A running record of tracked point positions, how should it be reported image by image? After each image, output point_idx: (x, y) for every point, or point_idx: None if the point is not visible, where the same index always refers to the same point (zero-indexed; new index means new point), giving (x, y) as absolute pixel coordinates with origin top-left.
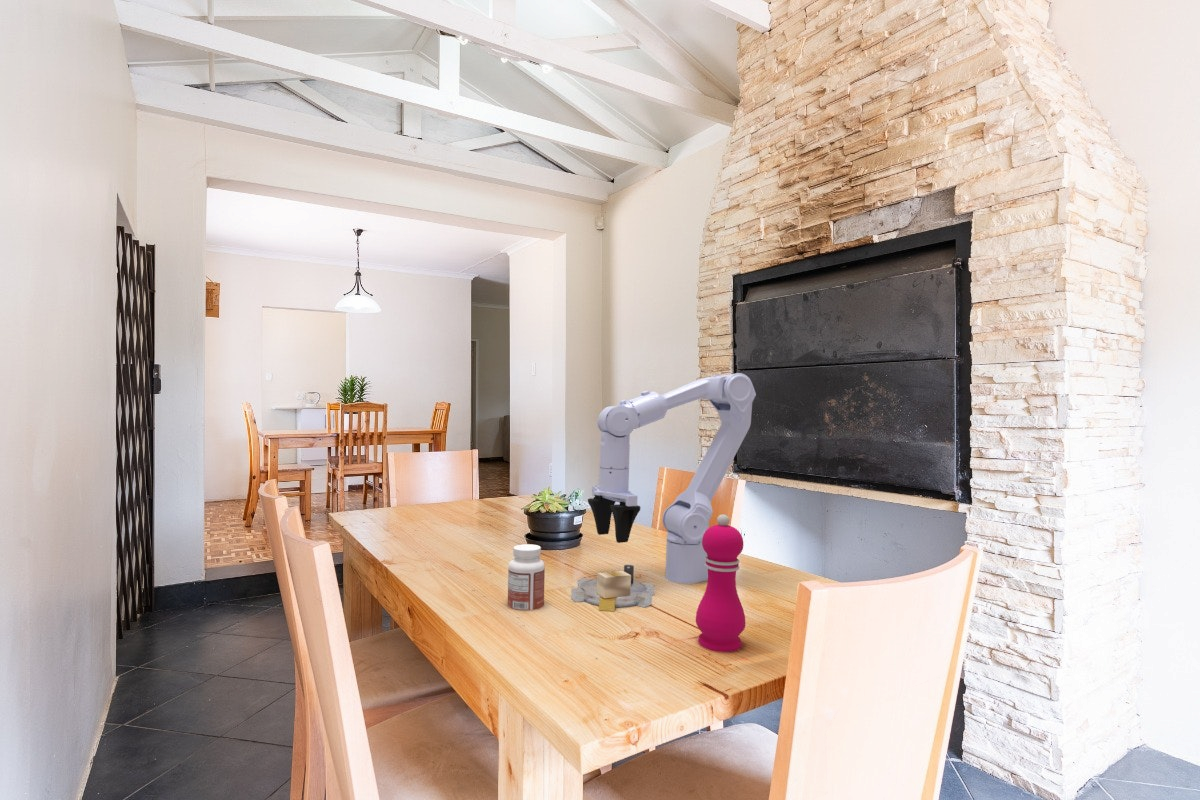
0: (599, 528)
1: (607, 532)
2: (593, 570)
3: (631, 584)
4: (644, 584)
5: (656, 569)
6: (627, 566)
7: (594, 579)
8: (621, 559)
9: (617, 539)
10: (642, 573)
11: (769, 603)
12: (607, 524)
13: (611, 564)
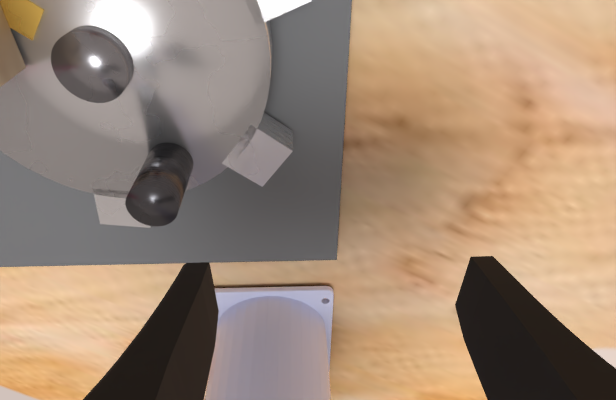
0: (488, 292)
1: (458, 310)
2: (580, 176)
3: (132, 156)
4: (122, 200)
5: (446, 333)
6: (140, 196)
7: (258, 32)
8: (610, 304)
9: (181, 275)
10: (435, 289)
11: (72, 392)
12: (481, 359)
13: (590, 259)
